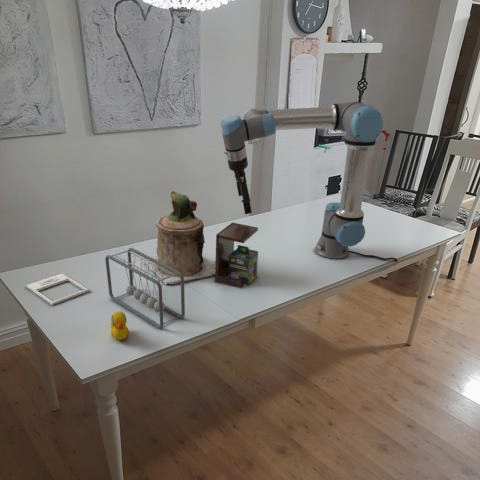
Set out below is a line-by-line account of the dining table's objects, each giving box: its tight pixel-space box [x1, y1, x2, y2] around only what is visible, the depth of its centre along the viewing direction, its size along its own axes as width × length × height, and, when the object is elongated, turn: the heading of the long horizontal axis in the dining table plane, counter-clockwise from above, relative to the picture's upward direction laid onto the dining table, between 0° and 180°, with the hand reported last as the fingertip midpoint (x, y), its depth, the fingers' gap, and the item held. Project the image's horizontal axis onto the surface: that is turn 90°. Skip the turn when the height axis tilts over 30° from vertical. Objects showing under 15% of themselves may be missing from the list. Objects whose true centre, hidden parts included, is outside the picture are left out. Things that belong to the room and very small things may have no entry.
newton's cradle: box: [104, 247, 186, 329], centre depth 161 cm, size 30×10×18 cm, turn 48°
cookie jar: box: [143, 190, 216, 286], centre depth 186 cm, size 25×25×32 cm
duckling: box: [110, 311, 130, 341], centre depth 147 cm, size 11×5×10 cm, turn 20°
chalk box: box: [227, 244, 259, 286], centre depth 185 cm, size 9×9×15 cm
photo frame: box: [26, 273, 89, 306], centre depth 174 cm, size 15×1×18 cm
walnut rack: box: [214, 222, 259, 289], centre depth 185 cm, size 11×15×20 cm
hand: (245, 203), depth 193 cm, fingers open, 13 cm apart
